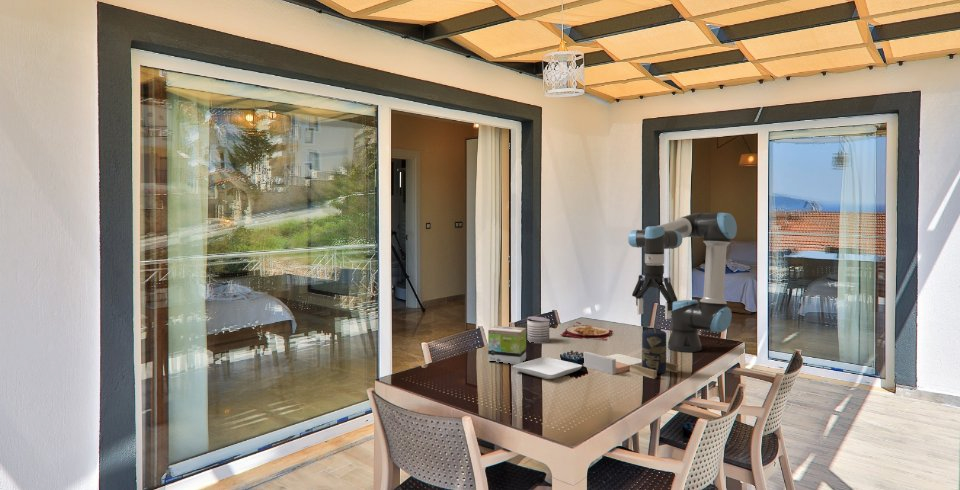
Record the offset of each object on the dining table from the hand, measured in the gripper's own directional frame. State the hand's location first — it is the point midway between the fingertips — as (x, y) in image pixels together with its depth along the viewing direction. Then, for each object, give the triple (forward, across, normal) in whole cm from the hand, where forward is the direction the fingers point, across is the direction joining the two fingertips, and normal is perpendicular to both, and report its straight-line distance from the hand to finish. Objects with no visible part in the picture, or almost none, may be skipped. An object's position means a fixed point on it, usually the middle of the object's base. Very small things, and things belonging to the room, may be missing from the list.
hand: (653, 316), depth 233 cm
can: (+23, -72, +1) cm, 76 cm away
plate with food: (+24, -68, +34) cm, 80 cm away
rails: (+23, 0, 0) cm, 23 cm away
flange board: (+23, -16, -5) cm, 28 cm away
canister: (+23, 0, 0) cm, 23 cm away
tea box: (+24, -51, -36) cm, 66 cm away
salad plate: (+24, -27, -34) cm, 49 cm away
